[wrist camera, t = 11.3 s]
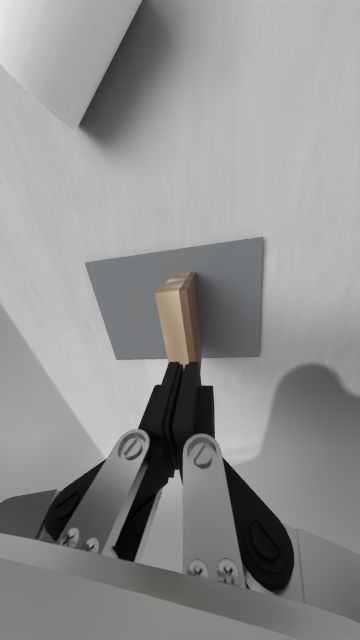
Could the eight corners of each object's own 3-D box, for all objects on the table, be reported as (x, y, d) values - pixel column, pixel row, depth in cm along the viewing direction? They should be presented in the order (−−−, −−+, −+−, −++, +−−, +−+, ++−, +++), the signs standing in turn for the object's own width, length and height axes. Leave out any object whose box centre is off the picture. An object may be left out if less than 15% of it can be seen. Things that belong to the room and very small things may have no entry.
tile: (195, 271, 20) (186, 289, 13) (202, 342, 23) (199, 387, 16) (174, 274, 20) (154, 293, 13) (184, 342, 24) (173, 387, 17)
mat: (261, 237, 18) (263, 237, 18) (257, 354, 24) (259, 356, 23) (87, 262, 22) (84, 263, 22) (118, 357, 28) (116, 359, 27)
